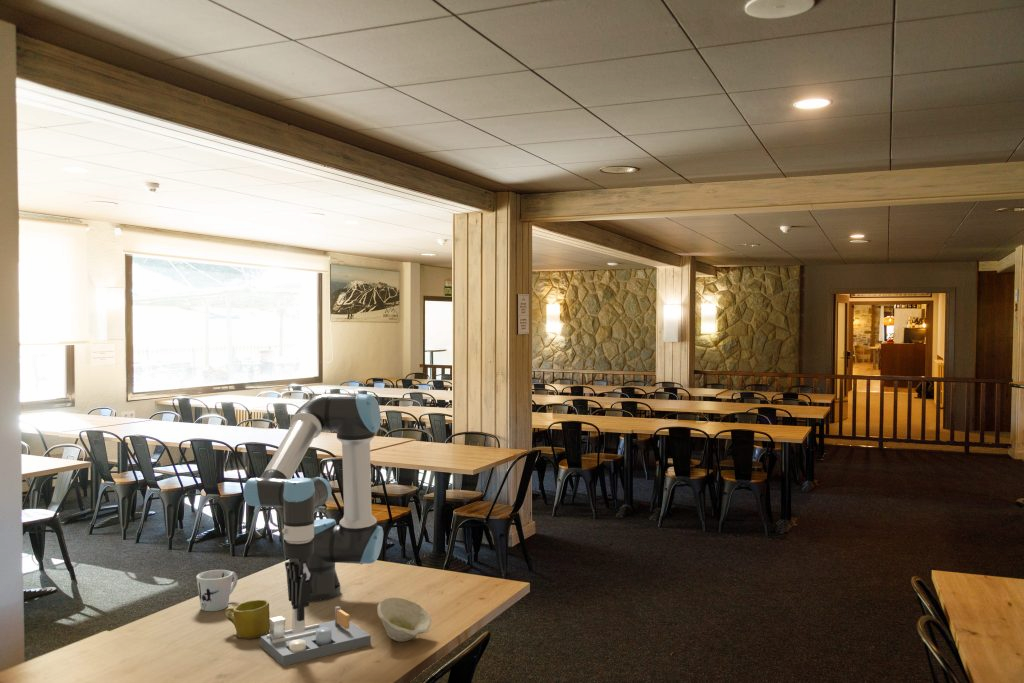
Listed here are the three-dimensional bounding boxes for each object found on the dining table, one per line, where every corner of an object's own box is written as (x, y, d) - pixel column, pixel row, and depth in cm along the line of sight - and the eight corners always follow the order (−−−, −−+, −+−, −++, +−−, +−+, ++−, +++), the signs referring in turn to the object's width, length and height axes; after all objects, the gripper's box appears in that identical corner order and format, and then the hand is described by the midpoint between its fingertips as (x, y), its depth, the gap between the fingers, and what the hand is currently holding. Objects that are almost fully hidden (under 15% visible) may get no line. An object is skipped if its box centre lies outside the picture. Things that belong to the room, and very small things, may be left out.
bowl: (406, 654, 204) (406, 615, 204) (365, 643, 211) (366, 605, 211) (441, 636, 217) (441, 599, 217) (402, 626, 224) (402, 591, 224)
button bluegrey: (313, 642, 206) (313, 629, 206) (327, 638, 208) (327, 626, 208) (319, 646, 203) (319, 634, 203) (334, 643, 205) (334, 630, 205)
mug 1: (188, 610, 236) (188, 576, 236) (223, 595, 249) (224, 564, 249) (215, 615, 232) (215, 581, 232) (250, 600, 245) (250, 568, 246)
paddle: (334, 624, 218) (334, 607, 218) (338, 623, 218) (339, 606, 218) (345, 632, 212) (345, 614, 212) (349, 631, 213) (350, 613, 213)
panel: (260, 645, 209) (260, 634, 209) (344, 627, 223) (344, 616, 223) (282, 666, 196) (282, 653, 196) (370, 644, 210) (370, 633, 210)
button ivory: (287, 654, 202) (287, 641, 202) (302, 651, 204) (302, 638, 204) (293, 659, 198) (293, 646, 199) (308, 656, 201) (308, 643, 201)
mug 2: (284, 622, 221) (271, 591, 219) (262, 646, 212) (248, 614, 210) (249, 624, 226) (237, 594, 224) (227, 647, 217) (213, 616, 214)
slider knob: (269, 637, 208) (269, 618, 208) (281, 635, 210) (281, 615, 210) (273, 641, 205) (273, 621, 205) (285, 638, 207) (285, 619, 207)
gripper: (275, 536, 204) (275, 627, 205) (294, 548, 194) (294, 643, 194) (303, 532, 209) (302, 621, 209) (323, 543, 198) (322, 636, 199)
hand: (298, 631), depth 202 cm, fingers closed
